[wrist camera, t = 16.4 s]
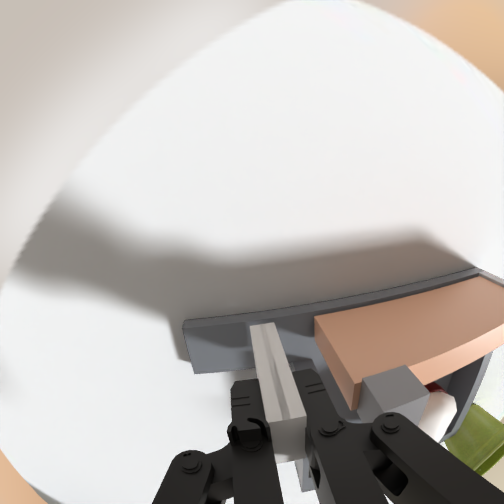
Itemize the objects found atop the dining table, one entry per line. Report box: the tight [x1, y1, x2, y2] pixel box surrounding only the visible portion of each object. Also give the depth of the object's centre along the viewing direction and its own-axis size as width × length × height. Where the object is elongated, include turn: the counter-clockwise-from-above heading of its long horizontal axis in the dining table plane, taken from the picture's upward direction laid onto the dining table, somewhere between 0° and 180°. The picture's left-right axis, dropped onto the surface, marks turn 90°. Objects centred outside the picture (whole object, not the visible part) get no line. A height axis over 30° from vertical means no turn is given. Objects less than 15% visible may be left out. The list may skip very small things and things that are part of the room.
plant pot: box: [444, 404, 504, 476], centre depth 18 cm, size 9×9×9 cm
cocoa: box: [418, 382, 457, 442], centre depth 12 cm, size 10×6×12 cm, turn 173°
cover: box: [314, 276, 504, 426], centre depth 12 cm, size 14×2×8 cm, turn 96°
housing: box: [182, 267, 504, 492], centre depth 15 cm, size 22×16×7 cm
